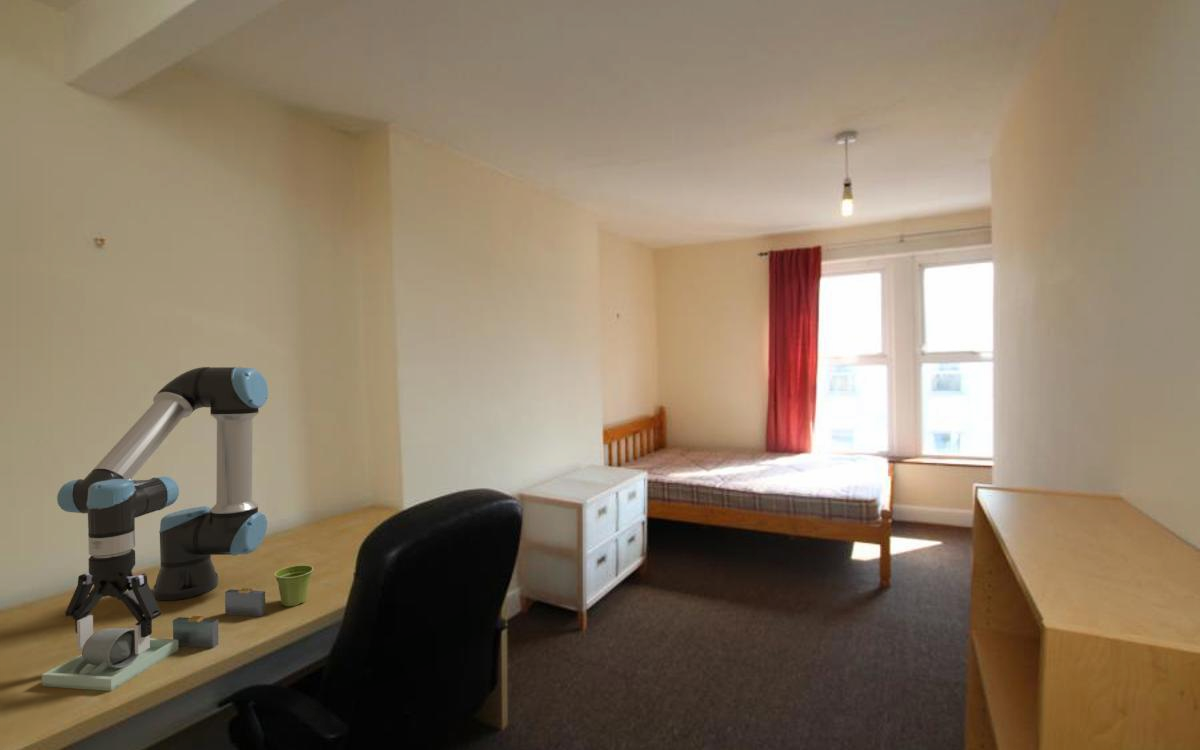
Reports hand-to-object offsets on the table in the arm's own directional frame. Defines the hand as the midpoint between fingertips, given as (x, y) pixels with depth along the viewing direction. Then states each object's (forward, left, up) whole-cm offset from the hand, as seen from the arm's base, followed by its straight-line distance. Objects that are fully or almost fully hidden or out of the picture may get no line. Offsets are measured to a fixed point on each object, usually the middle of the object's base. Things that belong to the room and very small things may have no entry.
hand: (113, 649), depth 118 cm
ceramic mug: (0, -1, -4) cm, 4 cm away
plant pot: (+18, +34, -4) cm, 39 cm away
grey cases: (+10, +18, -4) cm, 21 cm away
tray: (0, 0, -4) cm, 4 cm away
